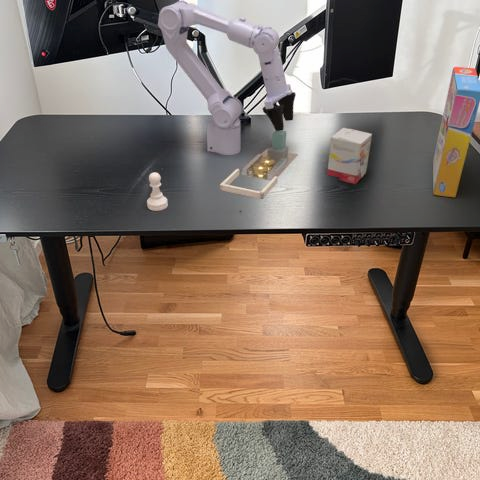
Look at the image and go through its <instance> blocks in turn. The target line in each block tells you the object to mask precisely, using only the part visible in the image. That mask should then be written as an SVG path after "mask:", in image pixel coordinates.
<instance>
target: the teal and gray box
mask: <svg viewBox="0 0 480 480" xmlns="http://www.w3.org/2000/svg"><path fill="white" fill-rule="evenodd" d="M271 139H272V141H271V142H272V143H271V144H272V145H271V146H269V148H267V149H268V153H267V156H269V157H272V158H274V159H276V160H281V159H282V158H285V157H286V156H287V155H288V153H289V146H287V142H286V141H287V131H286V130H281V131H276V130H275V131H273V132H272V138H271Z"/></svg>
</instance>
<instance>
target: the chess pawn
mask: <svg viewBox="0 0 480 480" xmlns="http://www.w3.org/2000/svg"><path fill="white" fill-rule="evenodd" d="M161 179H162V177H161V175H160V173H158V172H155V171H154V172H151V173H150V174H149V176H148V180H149V186H150V188H152V191H151V193H150V197H148V199H147V200H146V205H147V208H148V210H150V211H154V212H157V211H158V212H159V211H163V210H166V209H167V208H168V205H169V204H168V198H167V197H166V196H165V195H163V192H162V191H161V190H160V187H161V186H162V183H161Z"/></svg>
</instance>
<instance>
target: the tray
mask: <svg viewBox="0 0 480 480" xmlns="http://www.w3.org/2000/svg"><path fill="white" fill-rule="evenodd" d="M240 171H241V170H240V169H239V168H236V169H234V171H233V172H231V174H230V175H229V176H227V177H226V179H224V180H223V181H222V182H221V183H220V184H219V190H220V191H223V192H227V193H232V194H237V195H242V196H247V197H250V198H255V199H259V200H264V198H265V197H266V196H267V195H268V194H269V192H270V191H271V190H272V189H273V188H274V187H275V185H277V183H278V178H279V177H277V176H275V177H274V178H273V179H272V180H271V181H270V180H269V182H268V183H267V185H265V187H263V189H262V190H260V191H259V190H254V189H249V188H244V187H240V186H235V185H231V183H233V181H235V180H236V179H237V178H238V177H239V176H240V174H241V172H240Z"/></svg>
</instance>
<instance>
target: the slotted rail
mask: <svg viewBox="0 0 480 480" xmlns="http://www.w3.org/2000/svg"><path fill="white" fill-rule="evenodd" d="M268 149H269V148H266V149H265V150H264V151H262V153H257V154H256V155H255V156H254V158H252V159H251V160H250V162H248V163H247V164H245V166H244V167H243V168H242V172H240V175H241V176H246V177H250V178H256V179H261V180H266V181H269V182H270V181H271V180H272V179H273V178H274V177H275V176H277V177H278V178H279V177H280V176H281V175H282V173H283V172H284V171H285V170H286V169H287V168H288V167H289V166H290V164H291V163H293V161H294V160H295V159H296V158H297V157H298V156H299V154H298V153H294V152H288V155H287V156H286V157H285V158H282V159H281V160H276V159H275V160H274V167H273V168H272V169H271V170H268V174H267V176H265V177H256V176H254V175H253V165H254V164H256V163H260V158H261V157H265V156H267V153H268ZM240 175H239V176H240Z"/></svg>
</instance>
